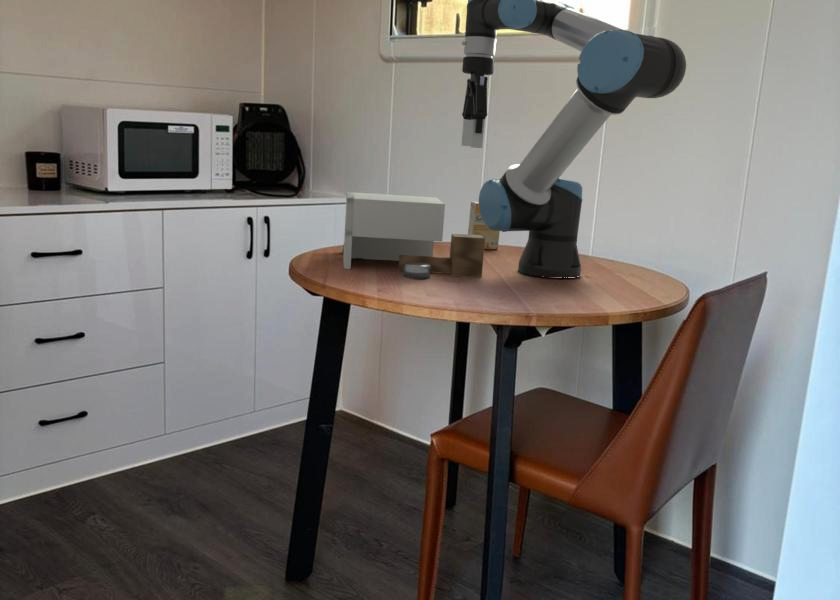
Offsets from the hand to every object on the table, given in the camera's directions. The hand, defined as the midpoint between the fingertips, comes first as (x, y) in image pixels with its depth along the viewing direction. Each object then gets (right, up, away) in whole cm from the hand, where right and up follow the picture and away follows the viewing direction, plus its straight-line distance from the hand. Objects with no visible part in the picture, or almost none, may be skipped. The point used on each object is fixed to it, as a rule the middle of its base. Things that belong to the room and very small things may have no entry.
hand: (471, 147), depth 195 cm
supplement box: (+5, -23, +33) cm, 40 cm away
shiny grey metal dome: (-13, -33, -18) cm, 40 cm away
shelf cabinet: (-20, -29, -6) cm, 36 cm away
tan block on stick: (-8, -31, -11) cm, 34 cm away
